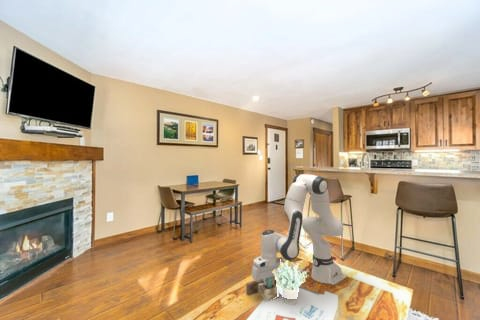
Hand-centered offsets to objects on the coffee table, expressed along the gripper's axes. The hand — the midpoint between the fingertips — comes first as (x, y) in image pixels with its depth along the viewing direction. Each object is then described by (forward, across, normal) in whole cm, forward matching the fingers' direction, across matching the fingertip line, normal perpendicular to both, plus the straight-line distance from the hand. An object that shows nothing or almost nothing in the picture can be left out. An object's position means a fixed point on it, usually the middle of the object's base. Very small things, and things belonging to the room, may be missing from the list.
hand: (268, 284), depth 126 cm
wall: (+6, 0, -6) cm, 8 cm away
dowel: (+4, 0, 0) cm, 4 cm away
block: (+6, 0, 0) cm, 6 cm away
